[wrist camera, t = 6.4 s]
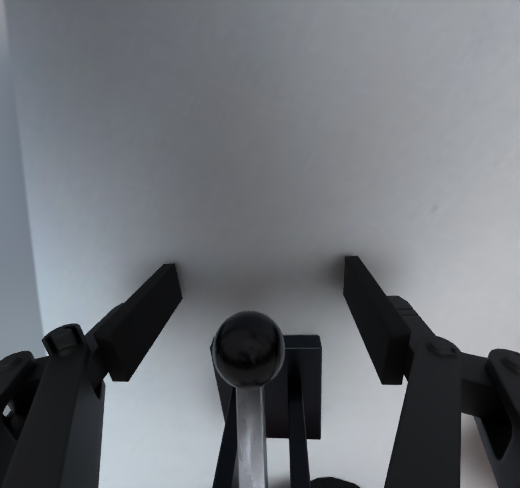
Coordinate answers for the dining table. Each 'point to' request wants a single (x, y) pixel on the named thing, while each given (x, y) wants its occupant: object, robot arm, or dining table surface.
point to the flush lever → (250, 384)
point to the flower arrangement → (331, 483)
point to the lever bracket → (279, 411)
